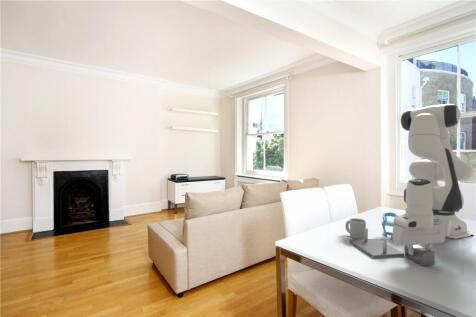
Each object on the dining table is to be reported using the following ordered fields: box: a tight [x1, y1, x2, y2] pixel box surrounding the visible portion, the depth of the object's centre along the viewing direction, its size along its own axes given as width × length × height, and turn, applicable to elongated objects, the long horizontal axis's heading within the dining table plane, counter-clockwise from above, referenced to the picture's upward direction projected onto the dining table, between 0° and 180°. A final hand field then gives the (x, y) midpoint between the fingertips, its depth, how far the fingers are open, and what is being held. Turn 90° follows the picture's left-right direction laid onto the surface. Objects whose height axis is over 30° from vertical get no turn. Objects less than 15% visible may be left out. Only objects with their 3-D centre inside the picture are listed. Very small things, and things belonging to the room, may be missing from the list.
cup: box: [345, 217, 367, 240], centre depth 120 cm, size 7×10×9 cm
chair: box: [381, 212, 400, 240], centre depth 120 cm, size 8×8×12 cm
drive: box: [404, 244, 436, 267], centre depth 94 cm, size 4×9×5 cm, turn 7°
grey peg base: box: [349, 227, 405, 259], centre depth 106 cm, size 14×17×7 cm
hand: (418, 254), depth 94 cm, fingers closed on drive, 5 cm apart
